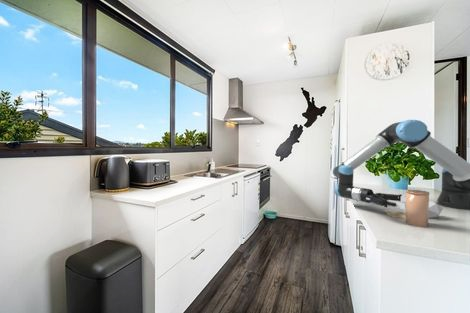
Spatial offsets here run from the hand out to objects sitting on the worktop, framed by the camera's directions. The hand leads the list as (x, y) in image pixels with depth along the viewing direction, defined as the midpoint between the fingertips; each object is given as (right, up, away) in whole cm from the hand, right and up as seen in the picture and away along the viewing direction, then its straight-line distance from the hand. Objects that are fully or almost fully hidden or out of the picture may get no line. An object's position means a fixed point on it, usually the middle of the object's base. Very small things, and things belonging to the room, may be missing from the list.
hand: (411, 204), depth 90 cm
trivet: (+3, -8, +10) cm, 14 cm away
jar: (+1, -9, -1) cm, 9 cm away
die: (+16, -8, +7) cm, 19 cm away
